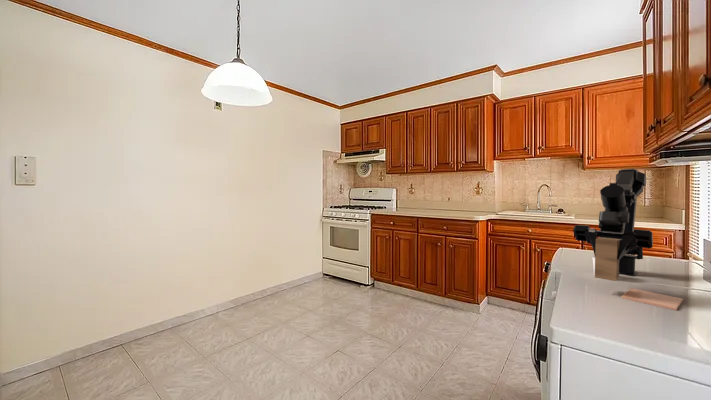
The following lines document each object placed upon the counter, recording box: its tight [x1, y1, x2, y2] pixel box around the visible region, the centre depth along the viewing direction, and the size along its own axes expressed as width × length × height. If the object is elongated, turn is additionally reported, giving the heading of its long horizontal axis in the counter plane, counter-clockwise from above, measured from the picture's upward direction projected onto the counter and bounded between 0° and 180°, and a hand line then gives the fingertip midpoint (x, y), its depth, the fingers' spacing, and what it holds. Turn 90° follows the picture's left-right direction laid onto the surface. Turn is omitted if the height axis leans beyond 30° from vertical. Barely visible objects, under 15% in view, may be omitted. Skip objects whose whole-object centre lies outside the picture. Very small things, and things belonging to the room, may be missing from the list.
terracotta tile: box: [621, 288, 684, 311], centre depth 86 cm, size 11×11×1 cm
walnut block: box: [594, 237, 620, 282], centre depth 91 cm, size 5×5×12 cm
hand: (606, 257), depth 90 cm, fingers closed on walnut block, 5 cm apart
